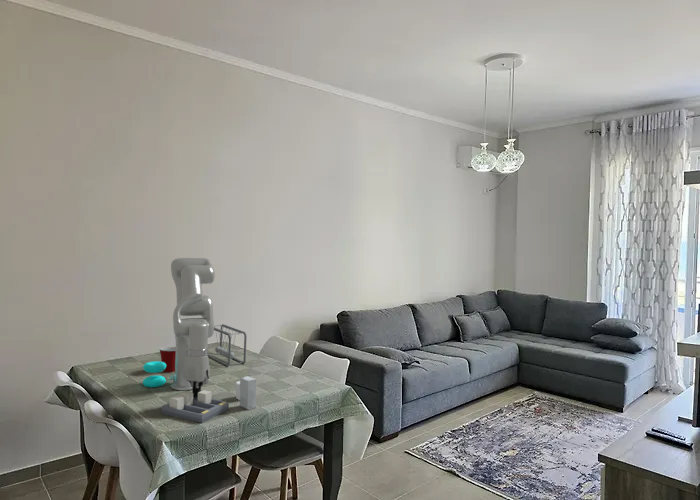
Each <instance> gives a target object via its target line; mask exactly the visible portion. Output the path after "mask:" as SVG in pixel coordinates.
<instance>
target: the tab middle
mask: <svg viewBox="0 0 700 500" xmlns="http://www.w3.org/2000/svg"><path fill="white" fill-rule="evenodd" d="M178 396H181V397H184V404H187V405H192V404H193V393H192V392H188V391H184V392H181V393H179V394H178Z"/></svg>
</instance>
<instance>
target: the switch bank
mask: <svg viewBox="0 0 700 500" xmlns="http://www.w3.org/2000/svg"><path fill="white" fill-rule="evenodd" d="M229 403H230V402H228V401H224V400H220V399H217V398H216V399H215V398H211V403H205V402H200V401H198V397H197V398H195V397H193V404H192V405H187V404H184V408H183V409H176V408H172V407H169V405H170V402H168V403H166V404H163V405H161V412H160V413H161V414H162V415H167V416H172V417H174V418H180V419H184V420H189V421H192V422H196V423H200V424H203V423H206V422H207V421H209V420H211V419H213V418H214V417H217V416H219V415H221V414H223V413H225V412H227V411H228V410H229V407H230V406H229V405H230V404H229Z"/></svg>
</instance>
